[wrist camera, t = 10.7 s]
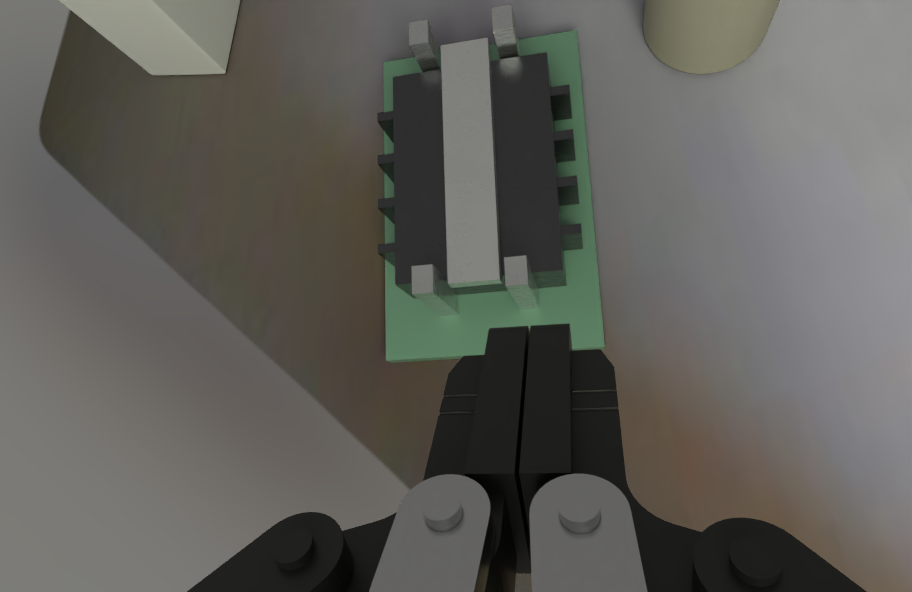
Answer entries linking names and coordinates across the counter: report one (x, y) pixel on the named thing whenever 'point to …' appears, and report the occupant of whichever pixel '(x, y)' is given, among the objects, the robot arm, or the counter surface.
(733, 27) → the travel mug
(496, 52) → the circuit board
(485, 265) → the retention strap
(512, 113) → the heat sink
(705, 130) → the counter surface
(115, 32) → the milk carton
